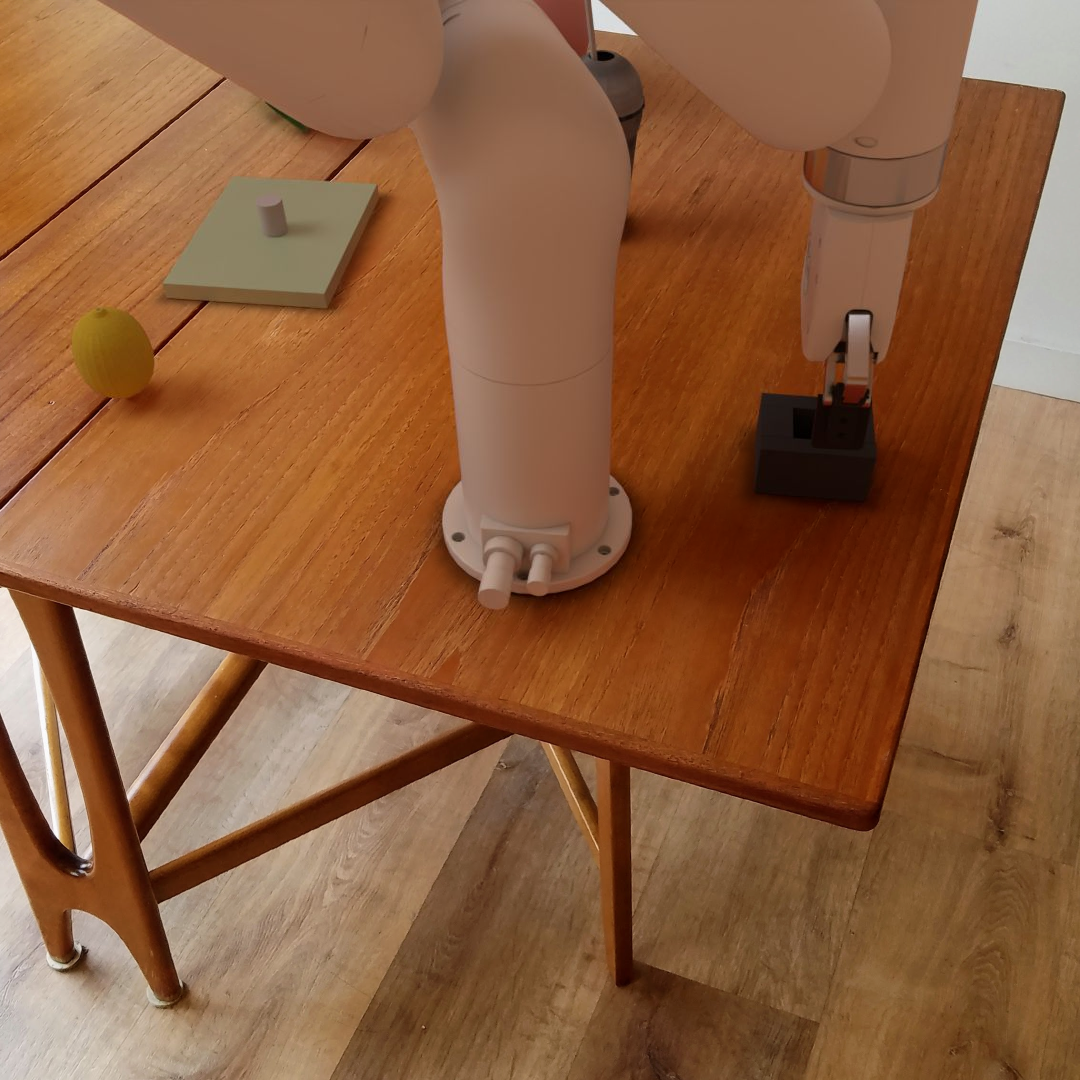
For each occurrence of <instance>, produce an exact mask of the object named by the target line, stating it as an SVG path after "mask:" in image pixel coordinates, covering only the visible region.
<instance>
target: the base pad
mask: <svg viewBox="0 0 1080 1080" xmlns="http://www.w3.org/2000/svg"><path fill="white" fill-rule="evenodd" d="M379 200H380V192H379V186H378V183H371V182H369V183H368V182H351V181H350V182H349V181H331V180H312V179H311V180H310V179H293V178H274V177H273V178H272V177H254V176H239V175H238V176H236V175H235V176H234V175H233V176H232V177H231V178H230V180H229V181H228V183H227V184H226V186H225V187H224V189H223V190H222V192H221V193H220V195H219V196H218V198H217V200H216V201H215V202H214V204H213V206H212V207H211V209H210V210H209V212H208V213H207V214H206V216H205V218H204V219H203V221H202V222H201V224H200V225H199V226H198V228H197V230H196V231H195V233H194V234H193V236H192V237H191V239H190V241H189V242H188V244H187V245H186V246H185V248H184V250H183V251H182V253H181V254H180V256H179V257H178V258H177V260H176V262H175V263H174V265H173V266H172V268H171V269H170V271H169V272H168V274H167V275H166V277H165V278H164V280H163V281H162V282H161V283H162V286H163V290H164V293H165V297H166V298H167V299H177V300H190V301H192V300H193V301H204V302H205V301H206V302H220V303H221V302H222V303H236V304H237V303H238V304H251V305H266V306H281V307H295V308H296V307H297V308H311V309H325V310H326V309H328V308H329V306H330V305H331V302H332V299H333V297H334V295H335V293H336V291H337V289H338V286H339V285H340V282H341V280H342V278H343V276H344V274H345V272H346V269H347V267H348V266H349V264H350V261H351V259H352V257H353V255H354V253H355V250H356V249H357V247H358V244H359V242H360V240H361V238H362V236H363V234H364V232H365V229H366V227H367V226H368V223H369V221H370V219H371V217H372V214H373V213H374V210H375V209H376V206H377V204H378V202H379Z"/></svg>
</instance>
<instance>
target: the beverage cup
mask: <svg viewBox="0 0 1080 1080" xmlns="http://www.w3.org/2000/svg"><path fill="white" fill-rule="evenodd" d="M585 9H586V18H587V28H588V37H589V45H588V47H589V52H588V51H587V53H586V54H585V55H583V56H581V57H580V59H581V60H582V61H583V63H584V64H585V65H586V67H587V68H588V70H589V71H590V72H591V74H592V75H593V76H594V78H595V79H596V80H597V82H598V83H599V85H600V86H601V88H602V89H603V91H604V92H605V94H606V95H607V97H608V99H609V100H610V102H611V104H612V106H613V108H614V110H615V112H616V114H617V116H618V119H619V121H620V124H621V126H622V128H623V131H624V134H625V138H626V142H627V146H628V151H629V156H630V163H631V180H632V178H633V171H634V162H635V155H636V154H635V153H636V147H637V139H638V133H639V130H640V127H641V123H642V119H643V112H644V109H645V108H646V99H645V96H644V89H643V82H642V80H641V76H640V75H639V73H638V71H637V69H636V68H635V67H634V65H633V64H632V63H631V62H630V60H629V59H628V58H626V57H625V56H623V55H622V54H620V53H618V52H616V51H613V50H607V49H597V43H596V34H595V25H594V24H595V23H594V17H593V16H594V13H593V7H592V0H585ZM628 210H629V209H628ZM628 210H627V212H628ZM626 220H627V219H626ZM626 220H625V222H626ZM625 225H626V223H625V224H624V229H623V232H624V231H625V227H626V226H625Z"/></svg>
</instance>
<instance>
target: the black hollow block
mask: <svg viewBox="0 0 1080 1080" xmlns="http://www.w3.org/2000/svg"><path fill="white" fill-rule="evenodd" d="M760 394H761V395H760V401H759V402H760V404H759V408H758V415H757V422H756V428H755V436H754V437H755V439H754V442H755V443H754V475H753V476H754V477H753V478H754V479H753V480H754V481H753V485H754V486H753V493H754V494H765V495H777V496H790V497H799V498H800V497H801V498H813V499H824V500H825V499H826V500H838V501H839V500H840V501H851V502H862V503H866V502H867V500H868V499H867V498H868V495H869V490H870V487H871V483H872V478H873V474H874V472H875V471H874V470H875V466H876V463H877V459H878V458H877V446H876V434H875V421H874V412H873V410H874V409H873V404H872V405H871V410H870V416H869V421H868V426H867V431H866V436H865V441H864V446H863V448H862V449H861V450H838V449H820V448H814V447H813V446H812V443H811V437H812V431H813V424H814V417H815V411H816V404H817V397H818V396H812V395H799V394H784V393H770V392H762V393H760Z"/></svg>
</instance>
